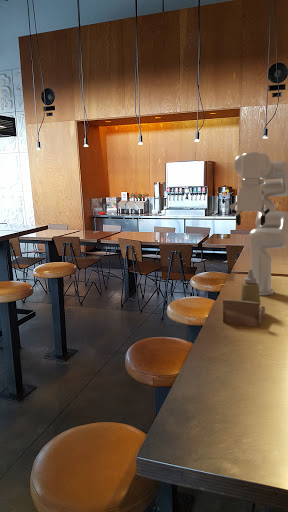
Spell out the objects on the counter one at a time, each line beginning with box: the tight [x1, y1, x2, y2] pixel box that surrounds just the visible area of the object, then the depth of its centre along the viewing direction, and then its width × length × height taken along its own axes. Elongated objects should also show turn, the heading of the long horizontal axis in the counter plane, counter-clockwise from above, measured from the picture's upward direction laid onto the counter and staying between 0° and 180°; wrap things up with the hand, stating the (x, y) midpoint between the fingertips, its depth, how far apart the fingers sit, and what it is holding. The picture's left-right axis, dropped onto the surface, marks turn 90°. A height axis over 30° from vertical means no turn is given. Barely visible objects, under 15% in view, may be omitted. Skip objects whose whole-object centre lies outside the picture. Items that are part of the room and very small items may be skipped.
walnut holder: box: [222, 298, 266, 328], centre depth 141 cm, size 11×13×9 cm
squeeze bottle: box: [240, 268, 261, 304], centre depth 150 cm, size 8×8×18 cm
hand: (250, 225), depth 152 cm, fingers open, 9 cm apart
